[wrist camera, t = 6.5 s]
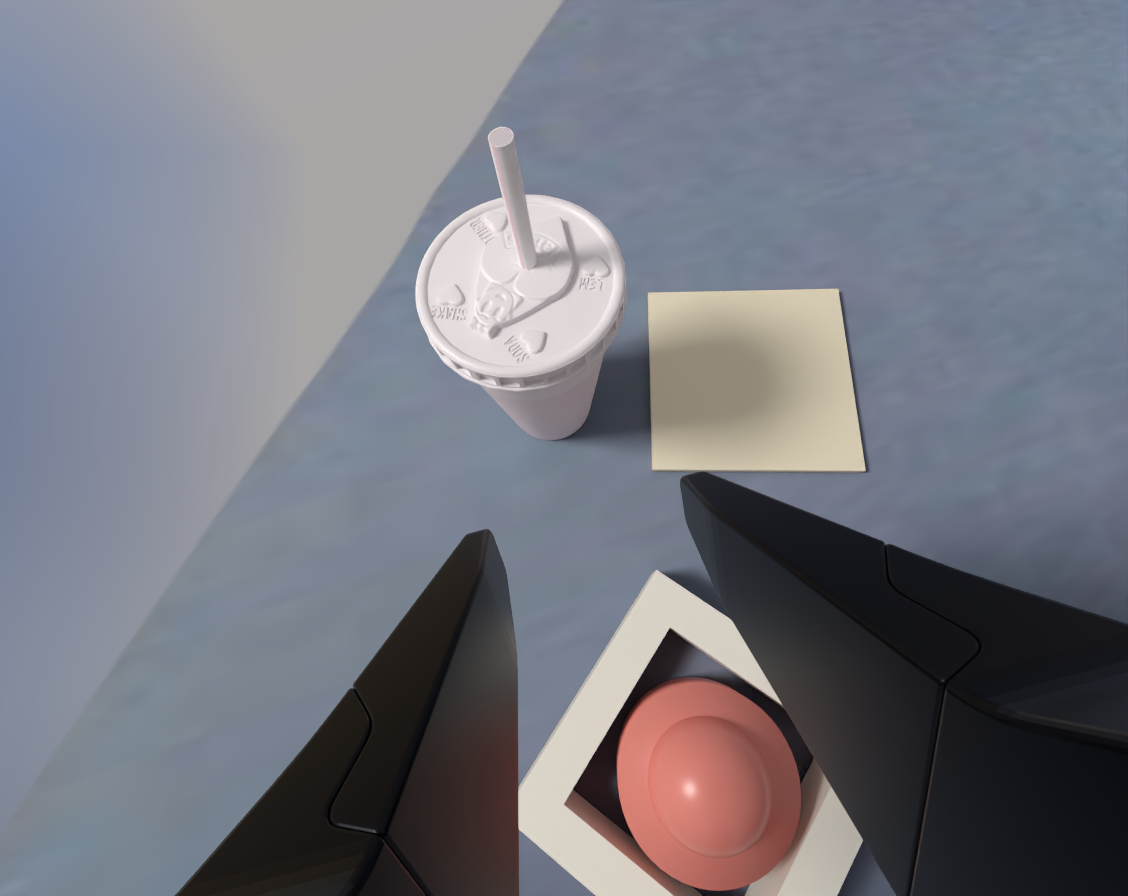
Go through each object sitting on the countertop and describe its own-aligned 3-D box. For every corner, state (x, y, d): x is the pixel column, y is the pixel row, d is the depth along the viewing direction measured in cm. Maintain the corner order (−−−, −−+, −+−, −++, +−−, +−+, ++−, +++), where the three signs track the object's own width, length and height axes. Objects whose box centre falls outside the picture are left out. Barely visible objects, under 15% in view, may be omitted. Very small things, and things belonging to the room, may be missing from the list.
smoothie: (644, 380, 24) (692, 104, 11) (573, 494, 23) (529, 337, 10) (531, 321, 26) (452, 13, 12) (458, 426, 24) (280, 206, 11)
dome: (810, 743, 19) (862, 777, 15) (729, 902, 18) (763, 982, 14) (669, 644, 20) (684, 652, 17) (585, 785, 19) (580, 829, 15)
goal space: (862, 472, 22) (865, 470, 22) (651, 471, 23) (652, 469, 23) (835, 292, 25) (838, 288, 25) (647, 296, 26) (648, 292, 25)
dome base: (880, 726, 19) (910, 739, 17) (749, 996, 17) (767, 1044, 15) (652, 573, 22) (656, 569, 20) (513, 795, 20) (503, 815, 18)
